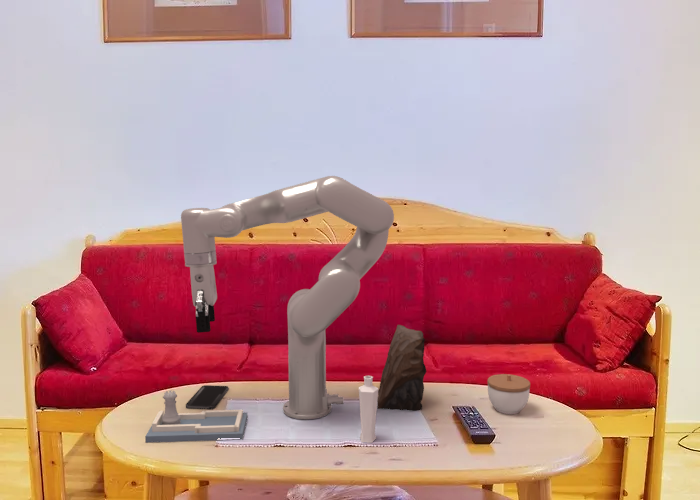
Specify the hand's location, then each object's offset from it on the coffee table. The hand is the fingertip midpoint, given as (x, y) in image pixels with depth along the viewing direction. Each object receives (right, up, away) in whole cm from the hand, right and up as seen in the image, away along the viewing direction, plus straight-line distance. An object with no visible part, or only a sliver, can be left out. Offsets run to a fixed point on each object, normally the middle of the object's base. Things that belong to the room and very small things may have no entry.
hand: (206, 326), depth 151 cm
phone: (-3, -22, +14) cm, 26 cm away
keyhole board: (0, -24, -5) cm, 25 cm away
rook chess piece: (-7, -23, -6) cm, 25 cm away
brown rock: (+48, -22, +11) cm, 54 cm away
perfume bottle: (+40, -25, -10) cm, 48 cm away
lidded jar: (+77, -23, +7) cm, 80 cm away
